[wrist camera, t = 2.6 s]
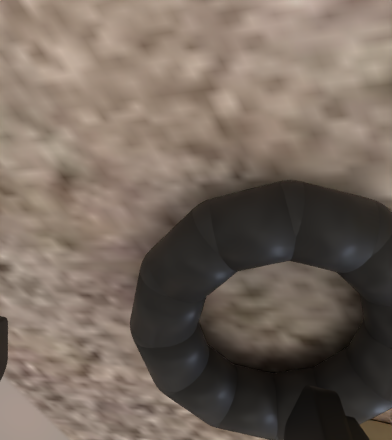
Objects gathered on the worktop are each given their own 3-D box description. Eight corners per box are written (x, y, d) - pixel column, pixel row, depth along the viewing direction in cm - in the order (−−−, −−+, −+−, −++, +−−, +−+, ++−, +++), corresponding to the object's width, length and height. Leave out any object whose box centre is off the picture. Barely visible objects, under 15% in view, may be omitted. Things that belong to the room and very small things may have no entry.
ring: (169, 139, 11) (156, 161, 9) (483, 217, 11) (539, 255, 9) (123, 368, 15) (108, 417, 13) (350, 419, 15) (369, 475, 13)
